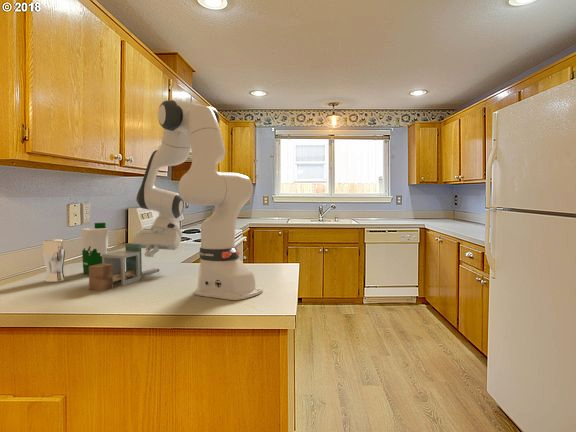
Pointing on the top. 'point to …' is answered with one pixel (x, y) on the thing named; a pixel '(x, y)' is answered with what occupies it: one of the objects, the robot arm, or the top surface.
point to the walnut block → (100, 277)
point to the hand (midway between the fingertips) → (148, 256)
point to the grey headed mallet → (119, 265)
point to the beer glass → (54, 259)
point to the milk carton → (94, 245)
